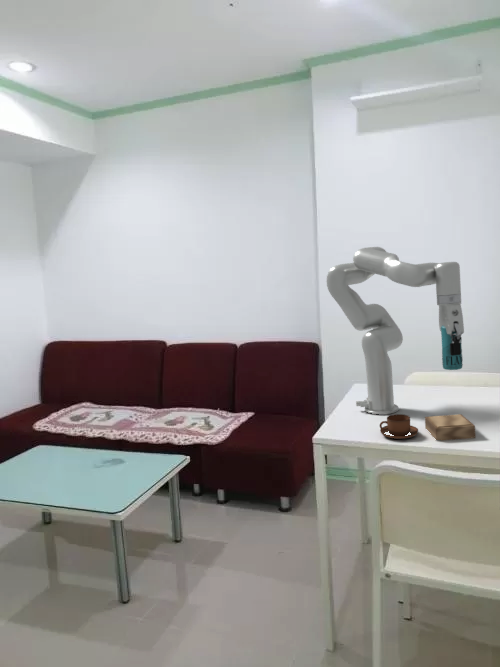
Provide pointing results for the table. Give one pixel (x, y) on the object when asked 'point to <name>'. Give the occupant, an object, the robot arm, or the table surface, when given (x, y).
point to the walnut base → (450, 427)
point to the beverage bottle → (447, 358)
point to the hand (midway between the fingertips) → (451, 352)
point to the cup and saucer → (398, 427)
